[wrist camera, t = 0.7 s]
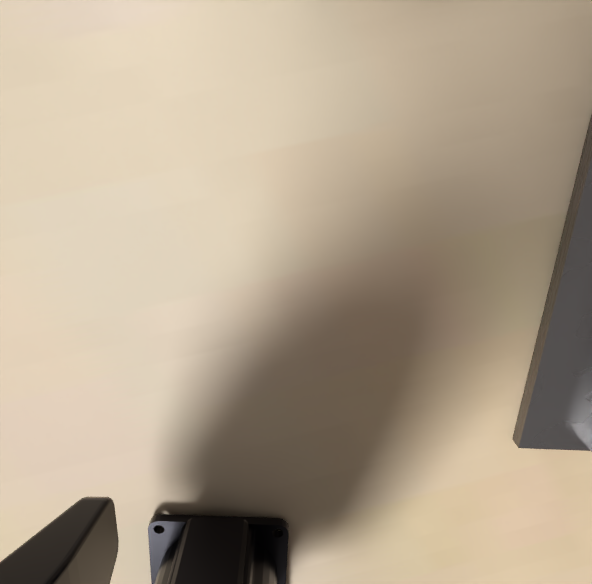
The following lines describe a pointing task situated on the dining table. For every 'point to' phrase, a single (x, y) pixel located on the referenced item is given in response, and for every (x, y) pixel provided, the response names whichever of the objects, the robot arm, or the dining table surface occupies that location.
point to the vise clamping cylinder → (564, 337)
